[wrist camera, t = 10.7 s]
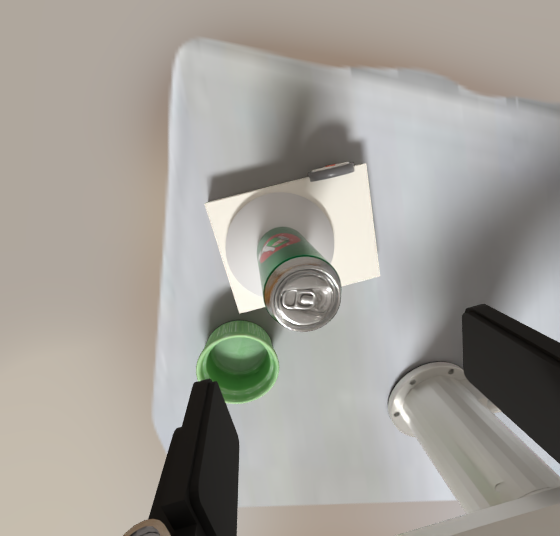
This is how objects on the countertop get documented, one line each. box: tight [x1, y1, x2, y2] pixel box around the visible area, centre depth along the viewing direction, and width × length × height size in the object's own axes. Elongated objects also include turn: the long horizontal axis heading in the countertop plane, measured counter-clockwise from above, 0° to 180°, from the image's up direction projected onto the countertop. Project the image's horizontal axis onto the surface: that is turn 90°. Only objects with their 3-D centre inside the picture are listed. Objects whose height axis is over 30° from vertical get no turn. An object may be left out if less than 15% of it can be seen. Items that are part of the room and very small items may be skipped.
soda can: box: [257, 227, 341, 332], centre depth 22 cm, size 5×5×12 cm
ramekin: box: [196, 320, 279, 404], centre depth 32 cm, size 9×9×4 cm
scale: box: [205, 162, 380, 314], centre depth 29 cm, size 16×13×4 cm
